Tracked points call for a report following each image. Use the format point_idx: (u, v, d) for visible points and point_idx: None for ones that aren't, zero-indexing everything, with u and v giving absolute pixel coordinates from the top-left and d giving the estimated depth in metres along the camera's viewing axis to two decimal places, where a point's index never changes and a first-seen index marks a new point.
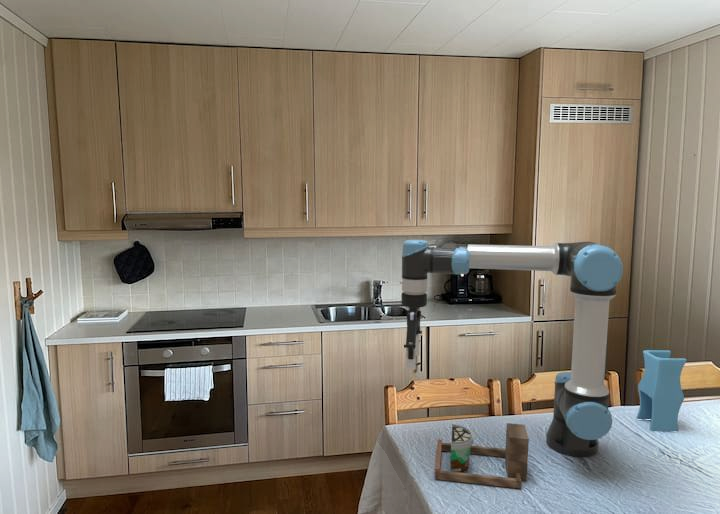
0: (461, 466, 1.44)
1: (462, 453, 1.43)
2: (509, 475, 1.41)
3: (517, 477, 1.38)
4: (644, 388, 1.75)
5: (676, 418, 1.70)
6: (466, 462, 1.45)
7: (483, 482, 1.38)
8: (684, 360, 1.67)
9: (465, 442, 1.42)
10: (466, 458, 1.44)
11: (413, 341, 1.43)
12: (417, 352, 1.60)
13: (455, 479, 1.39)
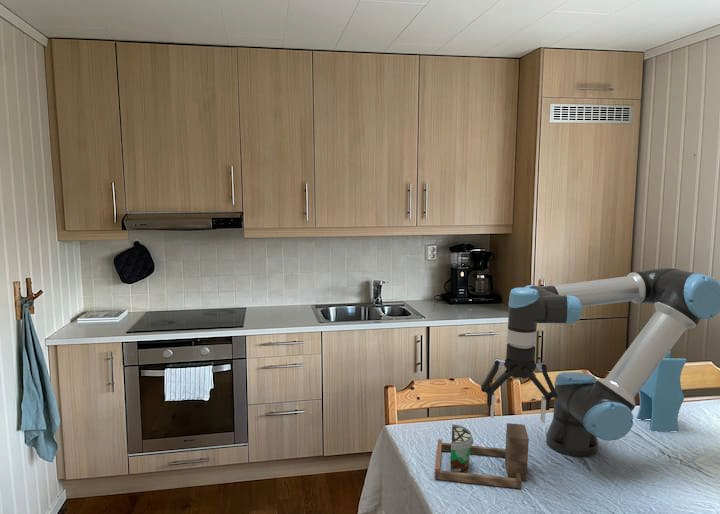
0: (461, 466, 1.44)
1: (462, 453, 1.43)
2: (509, 475, 1.41)
3: (517, 477, 1.38)
4: (644, 388, 1.75)
5: (676, 418, 1.70)
6: (466, 462, 1.45)
7: (483, 482, 1.38)
8: (684, 360, 1.67)
9: (465, 442, 1.42)
10: (466, 458, 1.44)
11: (483, 385, 1.43)
12: (541, 418, 1.41)
13: (455, 479, 1.39)
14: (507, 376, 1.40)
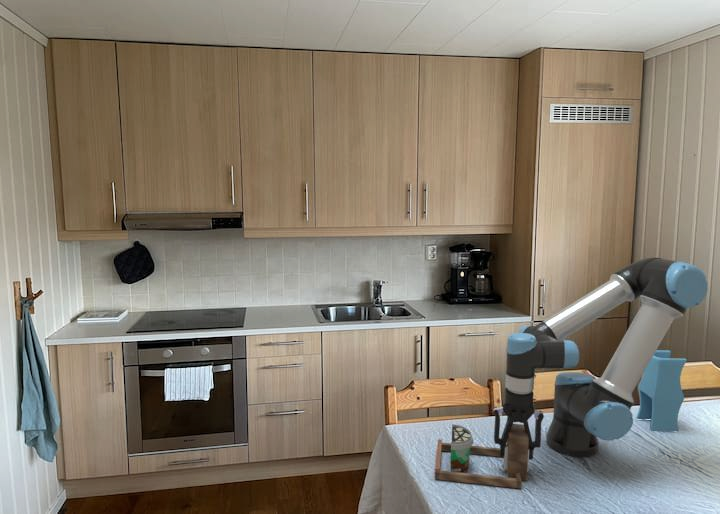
0: (461, 466, 1.44)
1: (462, 453, 1.43)
2: (509, 475, 1.41)
3: (517, 477, 1.38)
4: (644, 388, 1.75)
5: (676, 418, 1.70)
6: (466, 462, 1.45)
7: (483, 482, 1.38)
8: (684, 360, 1.67)
9: (465, 442, 1.42)
10: (466, 458, 1.44)
11: (494, 437, 1.44)
12: None
13: (455, 479, 1.39)
14: (510, 423, 1.42)
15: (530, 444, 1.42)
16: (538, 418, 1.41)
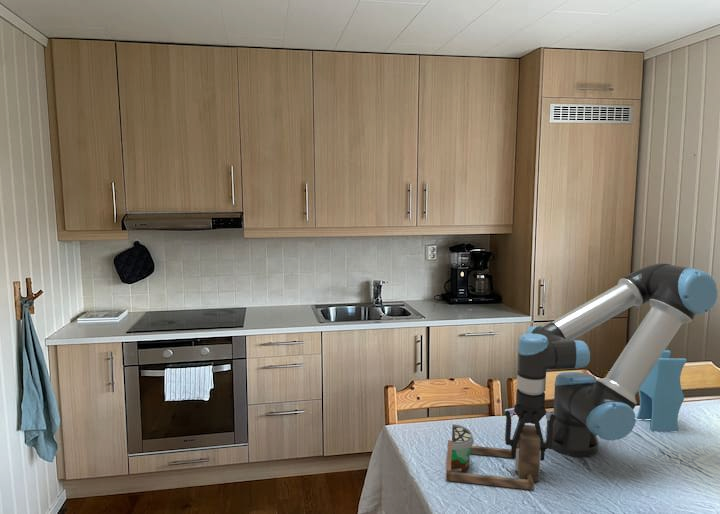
0: (462, 466, 1.44)
1: (463, 453, 1.43)
2: (521, 476, 1.40)
3: (529, 478, 1.37)
4: (644, 388, 1.75)
5: (676, 418, 1.70)
6: (467, 462, 1.45)
7: (495, 483, 1.37)
8: (684, 360, 1.67)
9: (466, 442, 1.42)
10: (467, 458, 1.44)
11: (505, 438, 1.43)
12: None
13: (466, 480, 1.39)
14: (522, 424, 1.41)
15: (542, 445, 1.41)
16: (550, 419, 1.40)
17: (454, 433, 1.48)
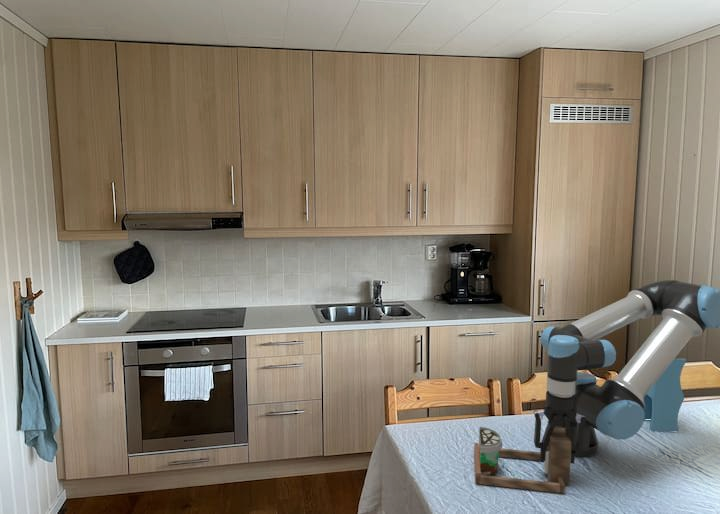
0: (491, 469, 1.42)
1: (492, 456, 1.41)
2: (551, 479, 1.39)
3: (560, 482, 1.36)
4: None
5: (676, 418, 1.70)
6: (495, 465, 1.43)
7: (525, 487, 1.36)
8: (684, 360, 1.67)
9: (495, 445, 1.41)
10: (495, 461, 1.43)
11: (535, 441, 1.42)
12: None
13: (496, 483, 1.37)
14: (552, 427, 1.40)
15: (572, 448, 1.40)
16: (580, 422, 1.39)
17: (482, 436, 1.46)
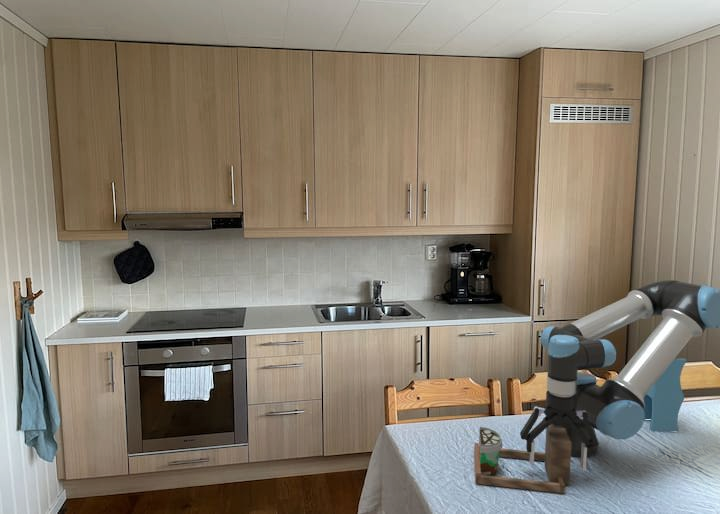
0: (491, 469, 1.42)
1: (492, 456, 1.41)
2: (551, 479, 1.39)
3: (560, 482, 1.36)
4: None
5: (676, 418, 1.70)
6: (496, 465, 1.43)
7: (525, 487, 1.36)
8: (684, 360, 1.67)
9: (495, 445, 1.41)
10: (496, 461, 1.43)
11: (523, 432, 1.42)
12: (582, 466, 1.40)
13: (496, 483, 1.37)
14: (547, 424, 1.40)
15: (586, 443, 1.39)
16: (583, 418, 1.38)
17: (482, 436, 1.46)
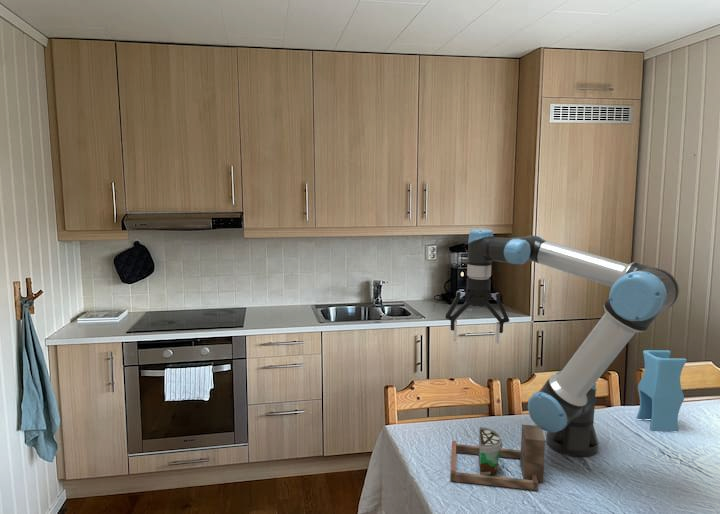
0: (491, 469, 1.42)
1: (492, 456, 1.41)
2: (525, 476, 1.40)
3: (533, 479, 1.37)
4: (644, 388, 1.75)
5: (676, 418, 1.70)
6: (496, 465, 1.43)
7: (499, 484, 1.37)
8: (684, 360, 1.67)
9: (495, 445, 1.41)
10: (496, 461, 1.43)
11: (447, 313, 1.67)
12: (496, 340, 1.66)
13: (471, 480, 1.39)
14: (467, 304, 1.65)
15: (499, 320, 1.64)
16: (496, 298, 1.64)
17: (482, 436, 1.46)
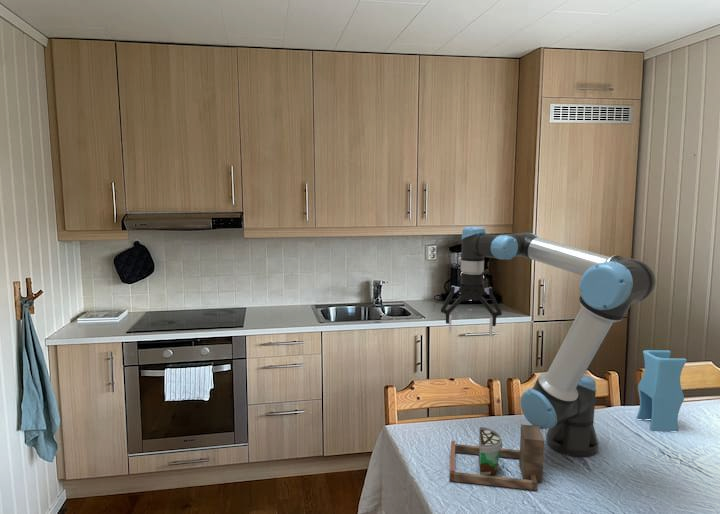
0: (491, 469, 1.42)
1: (492, 456, 1.41)
2: (524, 476, 1.40)
3: (532, 479, 1.37)
4: (644, 388, 1.75)
5: (676, 418, 1.70)
6: (496, 465, 1.43)
7: (498, 484, 1.37)
8: (684, 360, 1.67)
9: (495, 445, 1.41)
10: (496, 461, 1.43)
11: (442, 307, 1.75)
12: (489, 333, 1.73)
13: (470, 480, 1.39)
14: (461, 298, 1.72)
15: (492, 313, 1.71)
16: (489, 292, 1.71)
17: (482, 436, 1.46)
